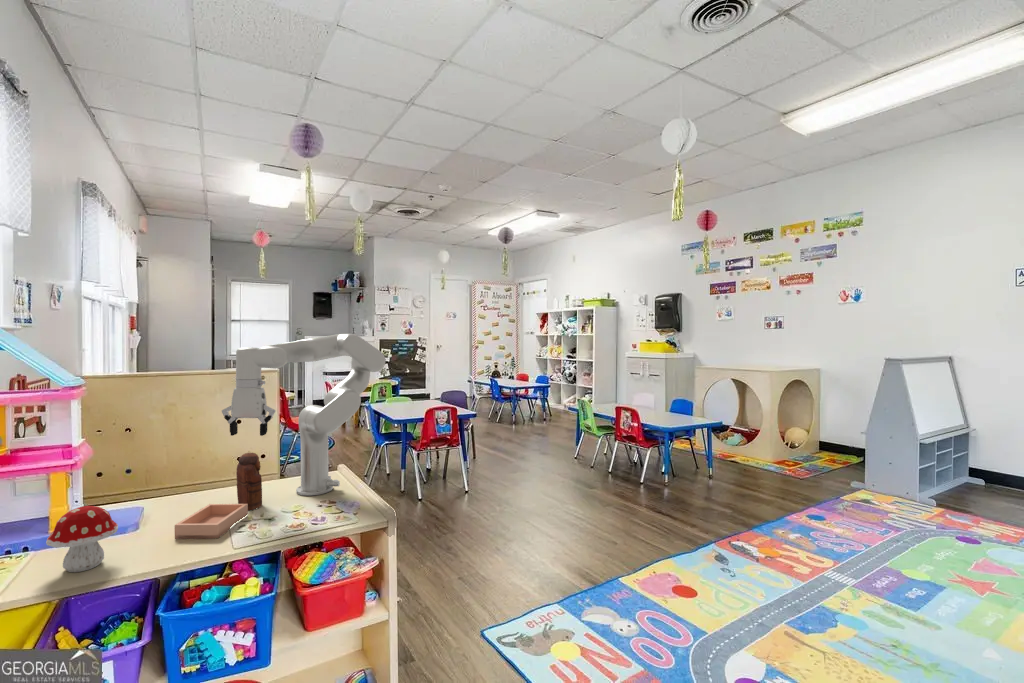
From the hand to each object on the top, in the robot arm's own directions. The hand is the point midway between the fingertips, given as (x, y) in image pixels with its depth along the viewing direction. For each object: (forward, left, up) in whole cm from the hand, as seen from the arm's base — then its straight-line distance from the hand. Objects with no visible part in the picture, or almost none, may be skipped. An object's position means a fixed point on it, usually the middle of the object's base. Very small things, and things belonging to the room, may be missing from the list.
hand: (248, 434), depth 166 cm
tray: (+2, +18, -24) cm, 30 cm away
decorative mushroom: (+20, +42, -24) cm, 53 cm away
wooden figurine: (0, 0, -24) cm, 24 cm away
